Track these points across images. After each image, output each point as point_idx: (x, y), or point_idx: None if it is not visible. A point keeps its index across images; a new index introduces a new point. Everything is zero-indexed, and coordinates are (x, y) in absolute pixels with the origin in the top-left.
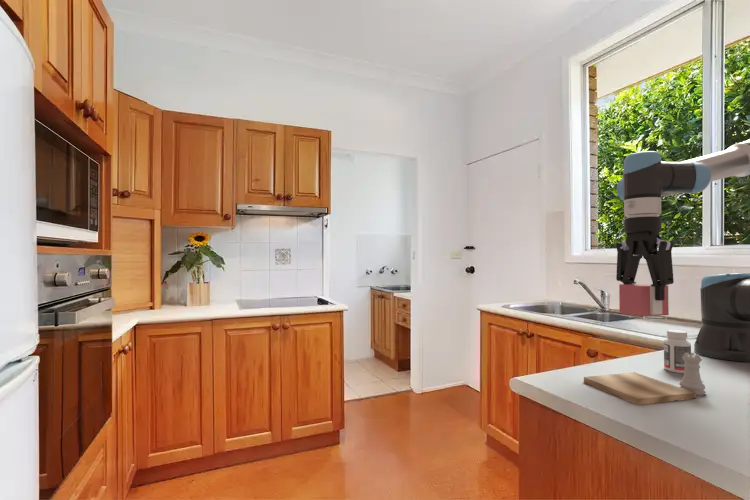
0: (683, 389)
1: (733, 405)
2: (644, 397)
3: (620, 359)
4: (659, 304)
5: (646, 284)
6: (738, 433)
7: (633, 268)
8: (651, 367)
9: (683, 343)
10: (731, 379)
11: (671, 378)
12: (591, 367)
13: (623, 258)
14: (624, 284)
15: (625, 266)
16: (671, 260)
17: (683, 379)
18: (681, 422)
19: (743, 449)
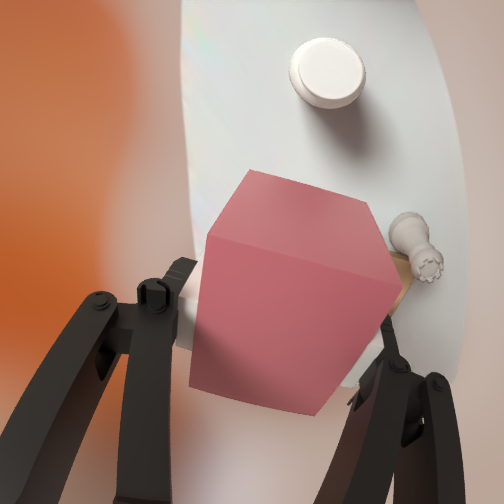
0: (404, 264)
1: (459, 244)
2: None
3: (185, 99)
4: None
5: (257, 298)
6: (460, 332)
7: (169, 427)
8: (272, 102)
9: (357, 93)
10: (420, 58)
11: (348, 162)
12: (208, 229)
13: (62, 463)
14: (201, 378)
15: (79, 399)
16: (462, 502)
17: (402, 251)
18: (416, 349)
19: (459, 358)
